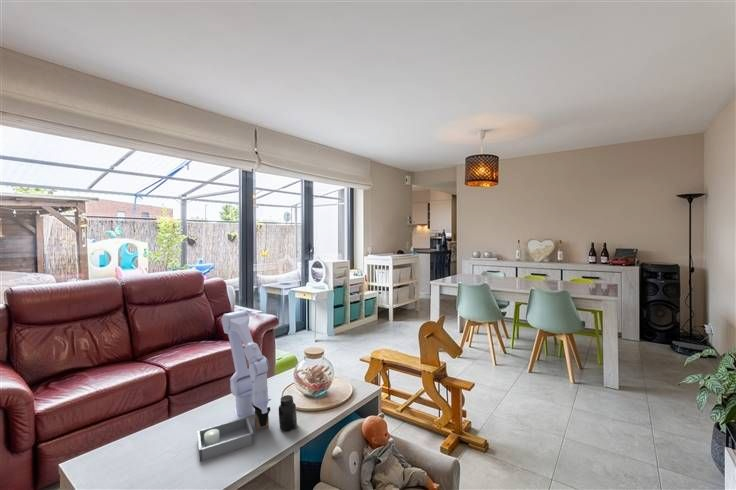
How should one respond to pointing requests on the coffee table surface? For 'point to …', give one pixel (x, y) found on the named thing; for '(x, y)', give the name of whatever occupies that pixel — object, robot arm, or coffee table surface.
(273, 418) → the coffee table surface
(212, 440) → the pale green cylinder
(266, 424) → the walnut block
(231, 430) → the tote
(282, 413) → the supplement bottle
